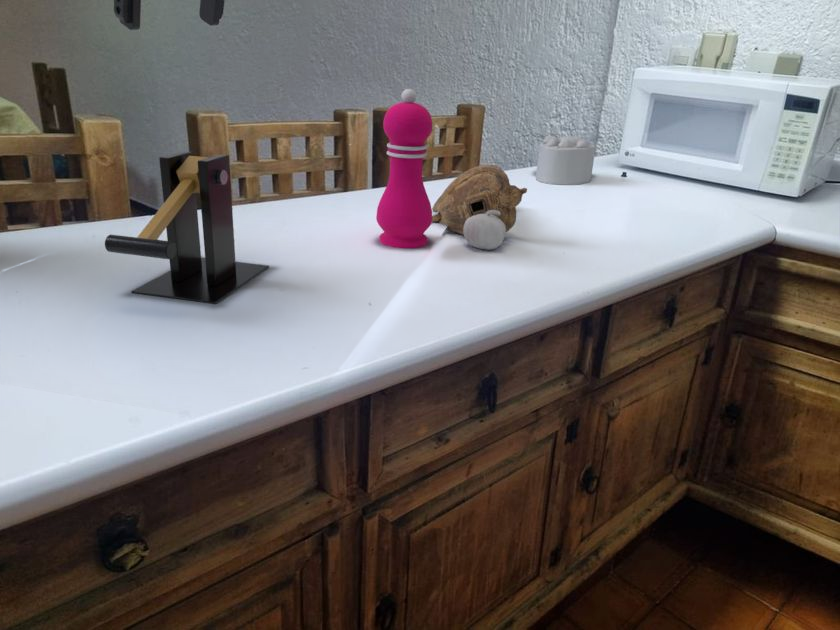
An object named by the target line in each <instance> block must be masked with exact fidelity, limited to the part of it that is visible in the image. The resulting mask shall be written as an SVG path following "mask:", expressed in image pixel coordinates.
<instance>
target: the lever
mask: <svg viewBox="0 0 840 630" xmlns="http://www.w3.org/2000/svg"><path fill="white" fill-rule="evenodd" d="M206 158H210V156H209V157H208V156H206V157H205V156H197V155H196V156H195V155H193V156H188V158H187V159H186V160H185V161H184V163H183V164H182V165H181V166H180V168H179V169H178V170H177V171H176V173H177V175H178V178H179V181H180V184H179V185H178V186H177V187H176V189H175V190H174V191H173V193H172V194H171V195H170V196H169V198H168V199H167V200H166V201H165V203H164V202H163V204H162V205H161V207H160V208H159V209H158V210H157V211H156V212H155V214H154V215H153V217H152V218H151V219H150V221H148V223H147V224H146V225H145V227H144V228H143V229H142V230H141V232H140V233H139V234H138V235H137V236H127V235H118V234H108V235H107V236H106V237H105V240H104V248H105V250H106V251H107V252H108V253H113V254H122V255H129V256H136V257H137V256H138V257H145V258H146V257H147V258H155V259H163V260H169V259H173V258H174V257H175V254H176V245H175V243H174V242H171V241H168V240H163V239H159V238H160V236H161V235H163V232H164V231H166V227H167V226H168V224H169V223H170V222H171V220H172V219H173V218H174V216H175V215H176V214H177V212H178V211H179V210H180V208H181V207H182V206H183V204H184V203H185V202H186V200H187V199H188V198H189V196H190V195H191V194H192V193H196V194H200V186H199V173H198V161H199V160H203V159H206Z"/></svg>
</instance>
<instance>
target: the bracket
mask: <svg viewBox="0 0 840 630" xmlns="http://www.w3.org/2000/svg"><path fill="white" fill-rule="evenodd" d="M188 156H194V153H193V151H184V150H183V151H180V152H176V153H175V152H174V153H172V154H171V153H170V154H168V155H163V156H160V157H159V156H158V157H159V158H158V159H159V170H160V181H161V191H162V200H163V204H164V203H165V201H166V200H167V199H168V198H169V196H170V195H171V194H172V193H173V191H174V190H175V189H176V187H177V186H178V185H179V184H180V181H179V178H178V175H177V173H176V171H177V170H178V169H179V168H180V166H181V165H182V164H183V163H184V161H185V160H186V159H187V158H188ZM198 173H199V186H200V193H199V197H200V209H201V223H202V235H203V247H204V257H202V252H201V251H202V249H201V240H200V238H201V237H200V227H199V226H200V225H199V216H198V204H197V203H198V201H197V193H192V194H191V195H190V196H189V198H188V199H187V200H186V202H185V203H184V204H183V206H182V207H181V208H180V210H179V211H178V212H177V214H176V215H175V216H174V218H173V219H172V220H171V222H170V223H169V224H168V226H167V227H166V228H165V231H166V241H171V242H174V243H175V245H176V254H175V257H174V258H173V259H168V260H169V269H170V270H169V271H167V272H165V273H163V274H161V275H159V276H157V277H155V278H154V279H151V280H150V281H147V282H146V283H144V284H142V285H140V286H138V287H136V288H134V289H132V290H131V292H130V293H131V294H133V295H141V296H149V297H156V298H157V297H158V298H163V299H170V300H180V301H186V302H194V303H202V304H210V305H217V304H219V303H220V302H221V301H223V300H224V299H226V298H227V297H229V296H230V295H232V294H233V293H234V292H236V291H237V290H239V289H240V288H242V287H243V286H245V285H246V284H247V283H249V282H250V281H252V280H253V279H255V278H257V277H258V276H259V275H260V274H263V272H265V271H267V270H268V269H270V265H266V264H258V263H257V264H256V263H249V262H240V261H236V247H235V230H234V216H233V215H234V214H233V197H232V184H231V166H230V155H229V154H218V155H213V156H209V158H206V159H203V160H199V161H198Z"/></svg>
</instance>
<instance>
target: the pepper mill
mask: <svg viewBox="0 0 840 630" xmlns="http://www.w3.org/2000/svg"><path fill="white" fill-rule="evenodd" d="M401 100H402V101H403V102H398V103H395V104H393V105H392V106H390V107H389V108H388V109H387V111H386V112H385V114H384V117H383V123H382V124H383V126H382V127H383V131H384V134H385V135H386V136H387V138H388V140H389V142H387V144H386V147H387V151H386V155H387V156H389V162H390V163H389V165H390V166H389V177H388V181H387V185H386V187H385V189H384V191H383V193H382V195H381V197H380V199H379V201H378V206H377V207H376V208H377V209H376V222H377V225H378V226H379V227H380V229H381V230H382V231H383V232H382V233H381V234H380V235H379V243H380V244H381V245H384V246H387V247H389V248H396V249H418V248H422V247H425V246H427V244H428V241H429V240H428V236H427V235H426V234H425V232H426V231H427V230H428V229H429V228H430V226H431V225H432V223H433V222H432V216H433V210H432V203H431V201H430V199H429V196H428V193H427V190H426V188H425V184H424V180H423V163H424V158H426V157H427V156H428V154H427V149H428V145H427V144H425V143H426V141H427V139H428V138H429V137H430V135H431V134H432V131H433V119H432V115H431V113H430V111H429V110H428V109H427V108H426V107H425V106H423V105H421V104H420V103H416V101H417V93H416V91H415V90H414V89H413V88H406V89H404V90H403V91H402V93H401Z"/></svg>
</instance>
